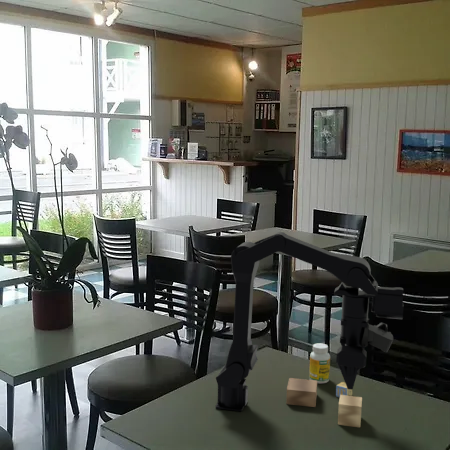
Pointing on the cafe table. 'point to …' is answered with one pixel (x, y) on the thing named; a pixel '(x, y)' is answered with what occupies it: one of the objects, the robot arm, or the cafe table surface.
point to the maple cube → (349, 411)
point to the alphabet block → (343, 390)
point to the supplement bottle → (320, 363)
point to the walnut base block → (301, 392)
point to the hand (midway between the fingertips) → (351, 380)
